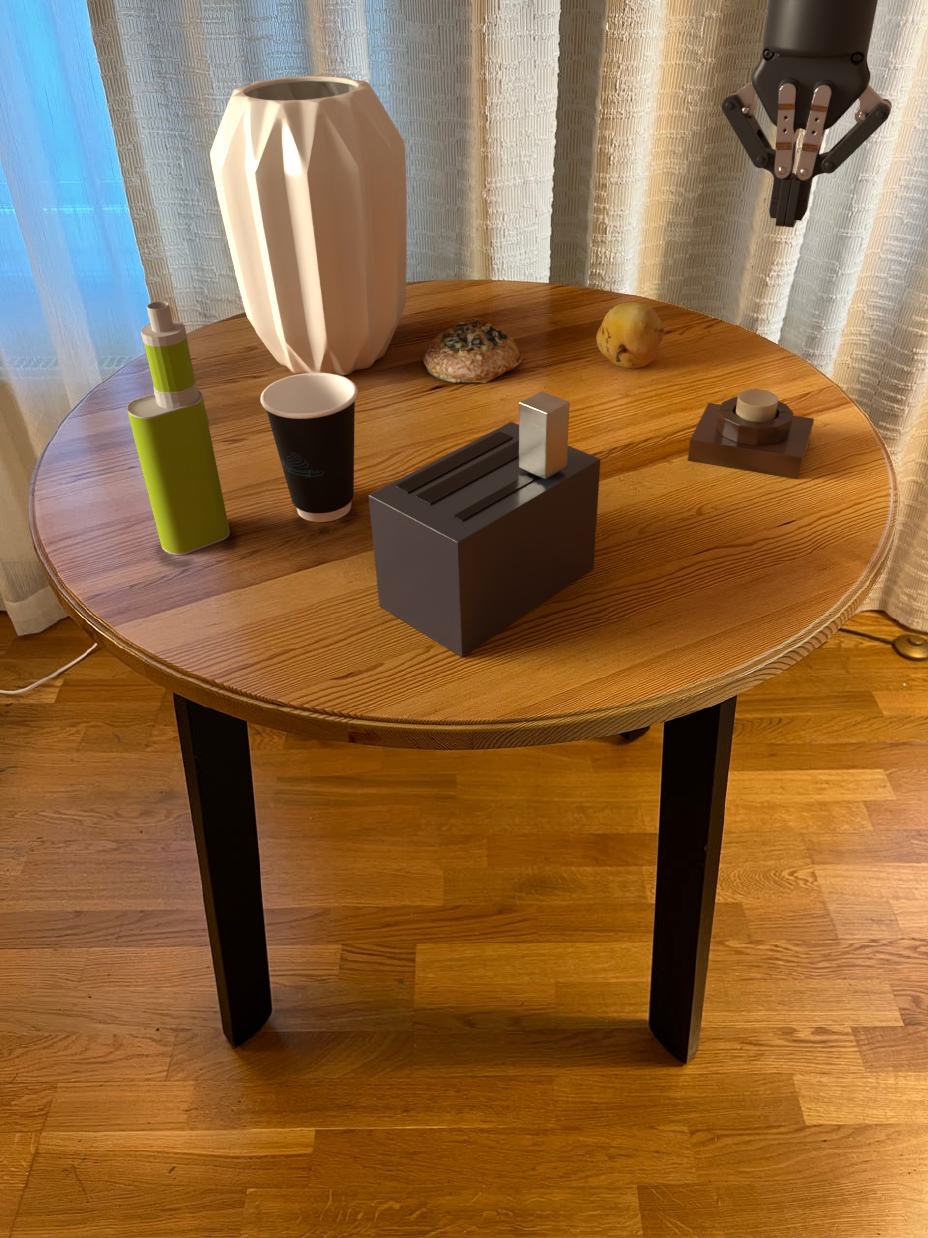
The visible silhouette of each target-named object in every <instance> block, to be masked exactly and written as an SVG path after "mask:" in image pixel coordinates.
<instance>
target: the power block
mask: <svg viewBox="0 0 928 1238" xmlns="http://www.w3.org/2000/svg"><path fill="white" fill-rule="evenodd" d="M737 399H738V396H733V397H731V398H728V399H726V400H724V401H722V402H721V404H720V403H713V402H708V403H707V404H706V407H705V409H704V411H703V413H702V415H701V416H700V419H699V421H698V423H697V425H696V427H695V429H694V431H693V432H692V435H691V437H690V439H689V446H688V453H687V461H688V462H694V463H700V464H706V465H713V466H718V467H724V468H730V469H737V470H741V471H747V472H754V473H760V474H765V475H771V476H778V477H783V478H788V479H789V478H790V479H795V480H798V479H799V477H800V473H801V470H802V468H803V464H804V460H805V457H806V454H807V451H808V447H809V445H810V441H811V438H812V432H813V428H814V423H815V417H808V416H807V417H806V416H800V415H794V412H793V410H792V409H791V408H790V407H789V405H788V404H786V403H784V402H782V401H779V400H778V406H777V411H776V417H775V419H774V420H771V421H765V422H754V421H747V420H744V419H742V418H740V417H738V416H736V414H735V412H736V405H737Z"/></svg>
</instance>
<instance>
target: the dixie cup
mask: <svg viewBox="0 0 928 1238" xmlns="http://www.w3.org/2000/svg"><path fill="white" fill-rule="evenodd" d="M358 390H359V389H358V387H357V385H356V384H355V383H354V381H352V380H350V379H349V378H348V377H345V376H344V375H336V374H330V373H304V374H297V373H296V374H294V375H288V376H286V377H283V378H280V379H278V380H275V381H274V382H272V383H270V384H269V385H268V386H267V387H266V388H264V389H263V391H262V393H261V394H260V404H261V406H262V407H263V408H264V409H265V412H266V414H267V418H268V421H269V425H270V429H271V433H272V435H273V439H274V443H275V446H276V450H277V454H278V457H279V460H280V464H281V467H282V471H283V474H284V478H285V481H286V486H287V489H288V492H289V494H290V499H291V502H292V504H293V506H294V507H295V508H296V512H297V514H298V515H299V517H301V518H302V519H304V520H306V521H308V522H309V521H310V522H313V523H327V522H332V521H335V520H339V519H340V518H343V517H344V516H346V515H347V514H348V513H350V511H351V508H352V501H353V500H354V495H355V417H356V416H355V413H356V412H355V411H356V410H355V408H356V399H357V397H358V394H359V391H358Z"/></svg>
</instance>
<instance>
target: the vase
mask: <svg viewBox="0 0 928 1238" xmlns="http://www.w3.org/2000/svg"><path fill="white" fill-rule="evenodd" d="M217 129H218V130H217V132H216V134H215V137H214V140H213V143H212V146H211V149H210V152H209V156H210V164H211V168H212V175H213V179H214V185H215V189H216V195H217V200H218V204H219V209H220V212H221V217H222V222H223V227H224V230H225V235H226V238H227V243H228V247H229V251H230V256H231V260H232V265H233V268H234V273H235V277H236V280H237V281H236V282H237V285H238V288H239V293H240V296H241V297H240V298H241V301H242V304H243V309H244V312H245V314H246V318H247V320H248V321H249V323H250V324H251V325H252V327H253V329H254V330H255V333H256V335H257V336H258V337H259V339H260V341H262V343H263V344H264V346H265V347H266V348H267V351H269V353H270V354H271V355H272V356H273V358H274V359H275V360H276V362H277V363H278V364H280V365H281V366H284V367H287V369H288V370H289V371H290V372H292V373H293V374H296V375H297V374H304V373H330V374H336V375H340V376H348V375H350V374H351V373H353V372H355V371H360V370H366V369H369V368H371V367H372V366H373V364H374V363H375V361H377V360H379V359H381V358H383V357H384V355H385V353H386V352H387V350H388V348H389V346H390V343H391V340H392V339H393V336H394V335H395V332H396V329H397V328H398V325H399V322H400V320H401V318H402V316H403V313H404V311H405V308H406V302H407V301H406V300H407V268H408V267H407V266H408V265H407V264H408V261H407V260H408V259H407V258H408V255H407V253H408V252H407V251H408V247H407V246H408V245H407V244H408V243H407V242H408V239H407V237H408V236H407V232H408V231H407V227H408V225H407V218H408V217H407V215H408V214H407V211H408V210H407V208H408V207H407V205H408V203H407V202H408V201H407V197H408V194H407V193H408V191H407V189H408V188H407V187H408V186H407V165H406V164H407V163H406V162H407V161H406V160H407V159H406V146H405V141H404V139H403V137H402V135H401V133H400V132H399V129H398V128H397V127H396V125H395V123H394V122H393V120H392V118H391V117H390V115H389V113H388V111H387V110H386V108H385V106H384V105H383V103H382V101H381V100H380V99H379V97H378V94H376V92H375V90H374V89H373V87H372V86H371V84H370V83H369V82H367V81H366V80H359V79H352V78H351V77H350V76H347V75H346V76H345V75H343V76H342V75H341V76H329V75H324V74H312V75H304V76H289V75H287V76H281V77H278V78H273V79H266V80H264V79H263V80H256V81H253V82H251V84H249V85H244V86H240V87H236V88H235V89H233V90H232V93H231V95H230V97H229V100H228V102H227V105H226V108H225V110H224V113H223V115H222V118H221V122H220V124H219V127H218V128H217Z"/></svg>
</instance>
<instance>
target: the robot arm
mask: <svg viewBox="0 0 928 1238" xmlns="http://www.w3.org/2000/svg"><path fill="white" fill-rule="evenodd" d="M878 1H879V0H768V6H767V7H768V8H767V14H766V15H767V16H766V21H765V30H764V37H763V45H762V51H761V56H760V59H759V61H758V63H757V65H756V66H755V68H754V69H753V71H752V75H751V80H750V81H749V82H747V83H746V84H745V85H744V86H742V87H741V88H739V89H738V90H733V91H731V92H730V93H729V94H727V96H726V97H725V98H724V99H723V101H722V102H721V110H722V112H723V114H724V117H726V119H727V121H728V123H729V124H730V126H731V128H732V130H733V131H734V133H735V135H736V136H737V138H738V140H739V142H740V143H741V145H742V147H743V149H744V150H745V152H746V154H747V156H748V157H749V159H750V161H751V162H752V164H753V166H754V167H755V168H757V169H763V170H766V171H768V172H770V174H771V175H772V178H773V182H772V183H773V184H772V188H771V195H770V201H769V208H768V213H769V217H770V219H775V223H774V224H775V227H782V228H784V227H785V228H795V226H796V224H797V221H802V220H803V218H804V217H805V215H806V213H807V211H808V207H809V204H810V203H809V201H810V196H811V190H812V184H813V180H814V178H815V177H817V176H819V175H822V174H827V175H830V174H833V173H834V172H836V171H837V170H838V169H839V168H840V167H841V166H842V165H843V164H844V163H845V162H846V161H847V160H848V159H849V158H850V157H851V156H852V155H853V154H854V153H855V152H856V151H857V150H858V149H859V148H860V147H861V146H862V145H863V144H864V143H865V142H866V141H867V140H868V139H869V138H870V137H872V135H873V134H874V133H875V132H876V131H877V130H878V129H879V128H881V126H882V125H883V124H884V123H886V121H887V120H888V119H889V116H890V114H891V111H892V108H893V105H892V102H891V101H890V100H889V99H887V98H882V97H881V96H880V95H879V94H878V93H877V91H875V90H874V88H872V87H871V85H870V83H871V82H870V81H871V71H870V68H869V65H868V64H869V63H868V54H869V48H870V43H871V39H872V34H873V33H872V32H873V28H874V23H875V18H876V13H877V7H878ZM756 97H758V99H759V101H760V103H761V105H762V107H763V109H764V111H765V113H766V115H767V117H768V119H769V121H770V122H771V124H772V125H773V126H775V127H776V134H775V149H774V148H773V147H772V144H771V142H770V141H769V139H768V138H767V135H766V134H765V132H764V130H763V129H762V127H761V125H760V124H759V122H758V120H757V118H756V116H755V115H754V113H755V112H756V110H757V109H758V104H757V101H756ZM857 101H859V106H858V108H857V109H856V111H855V112H854V120H855V124H854V125H853V126H852V127H851V128H850V129H849V130H848V131H847V132H846V133H845V134H844V135H843V136H842V137H841V138H840V139H839V140H838V141H837V142H836V144H834V145H833V146H832V147H831V149H829V150H828V151H825V152H821V149H822V146H823V145H822V144H823V141H824V138H825V134H826V131H827V130H828V129H831V128H832V127H834V125H836V123H838V121H839V120H840V119H841V118H842V117H843V116H844V115H845V114H846V113H847V112H848V110H849V109H850V108H852V106H853V105H854V104H855V103H856V102H857ZM800 130H803V131H805V132H804V136H803V140H802V145H801V152H800V155H799V159H798V164H797V167H796V172H794V167H795V163H796V154H797V144H798V143H797V142H798V137H799V131H800ZM820 152H821V153H820Z"/></svg>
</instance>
